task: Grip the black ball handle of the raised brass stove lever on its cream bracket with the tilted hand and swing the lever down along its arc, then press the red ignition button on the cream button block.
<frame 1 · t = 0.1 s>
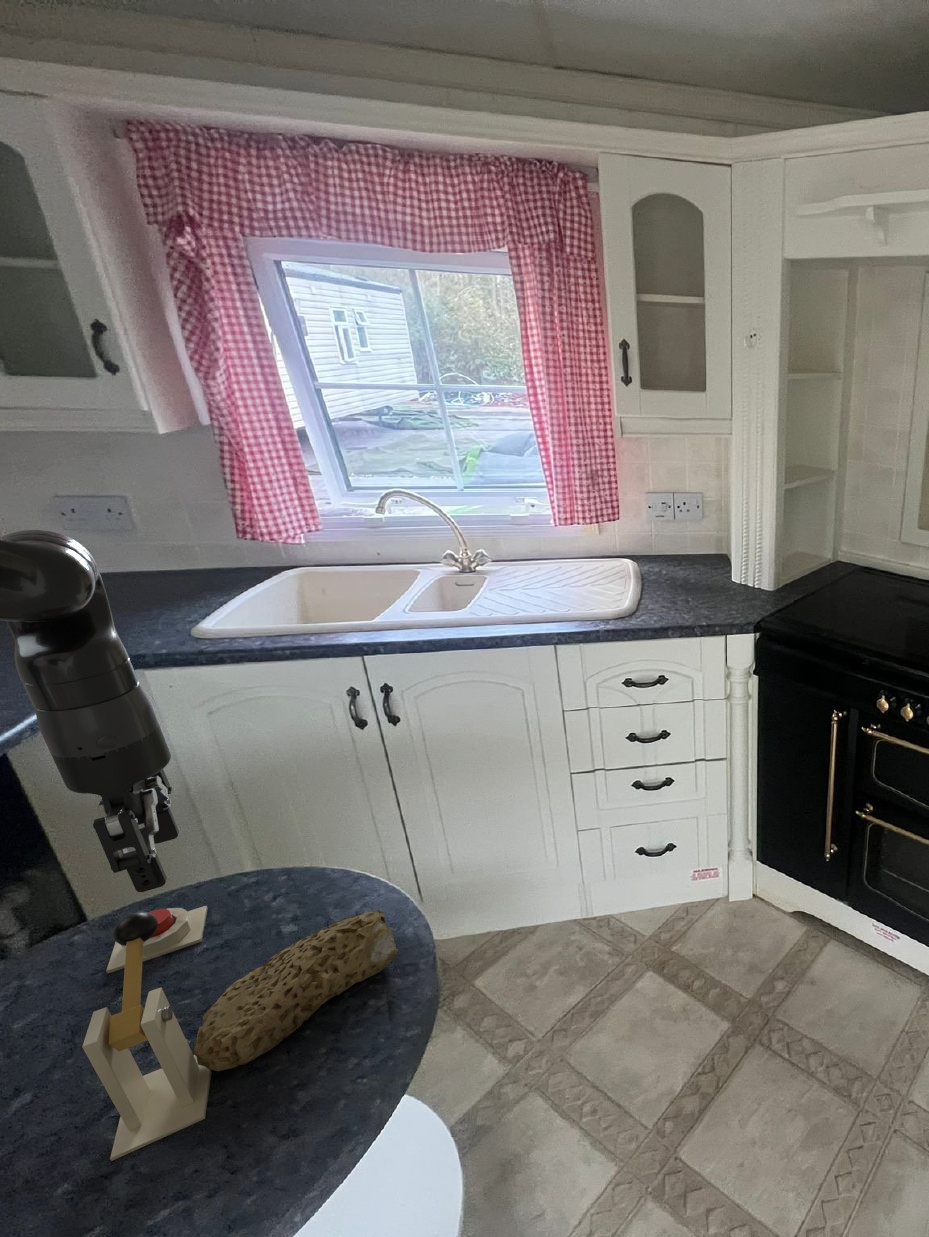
hand: (160, 862, 71), 24 cm above the countertop, tool pointing down, fingers open, 8 cm apart
lever: (133, 974, 69), point 14 cm above the countertop, hinge at 22.0°
button block: (162, 943, 89), on the countertop
button: (153, 924, 88), point 3 cm above the countertop, slide at 0.1 cm
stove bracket: (169, 1105, 70), on the countertop
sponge: (309, 1003, 82), on the countertop
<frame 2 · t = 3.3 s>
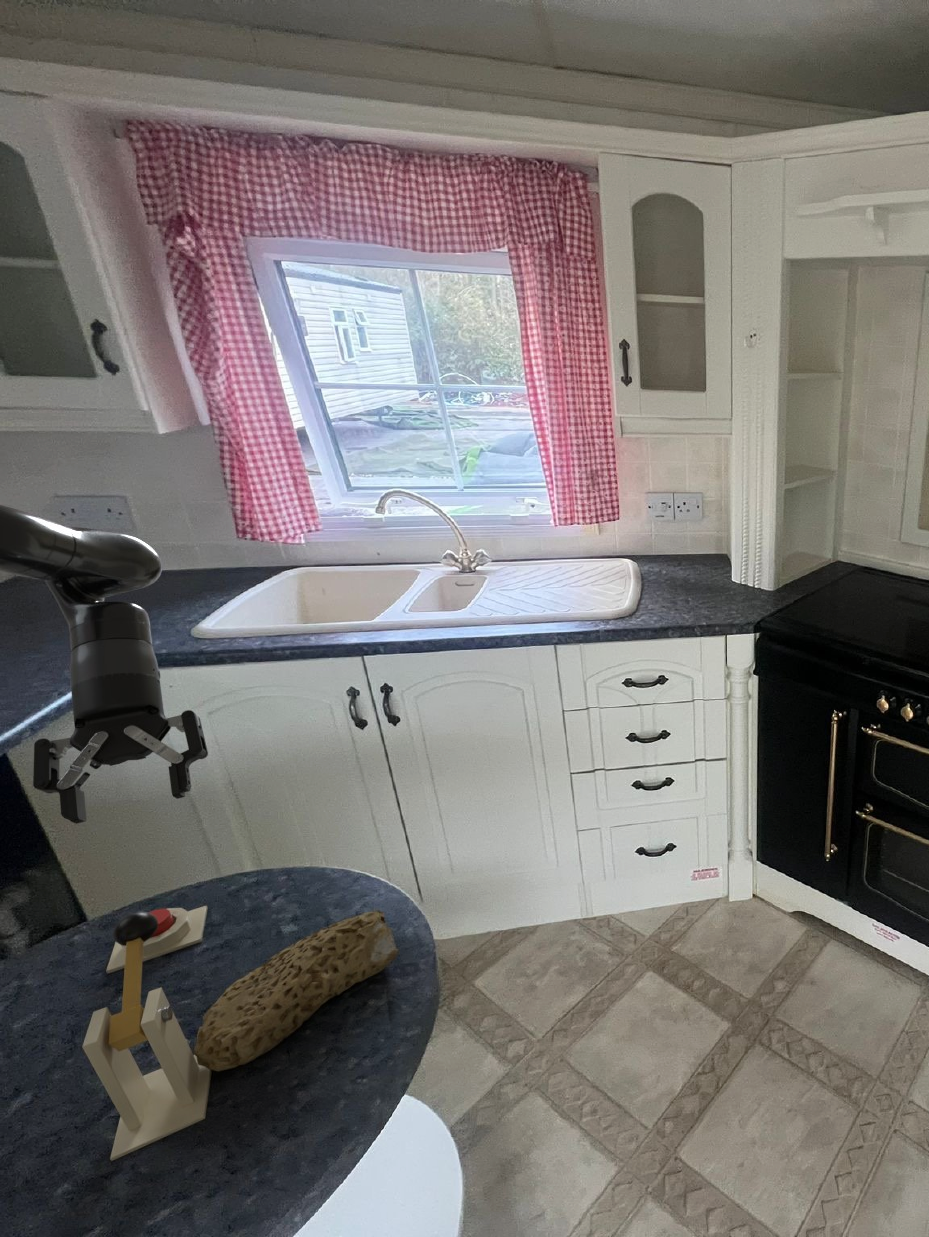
hand: (130, 808, 77), 25 cm above the countertop, tool tilted 45°, fingers open, 8 cm apart
nothing on the countertop moved.
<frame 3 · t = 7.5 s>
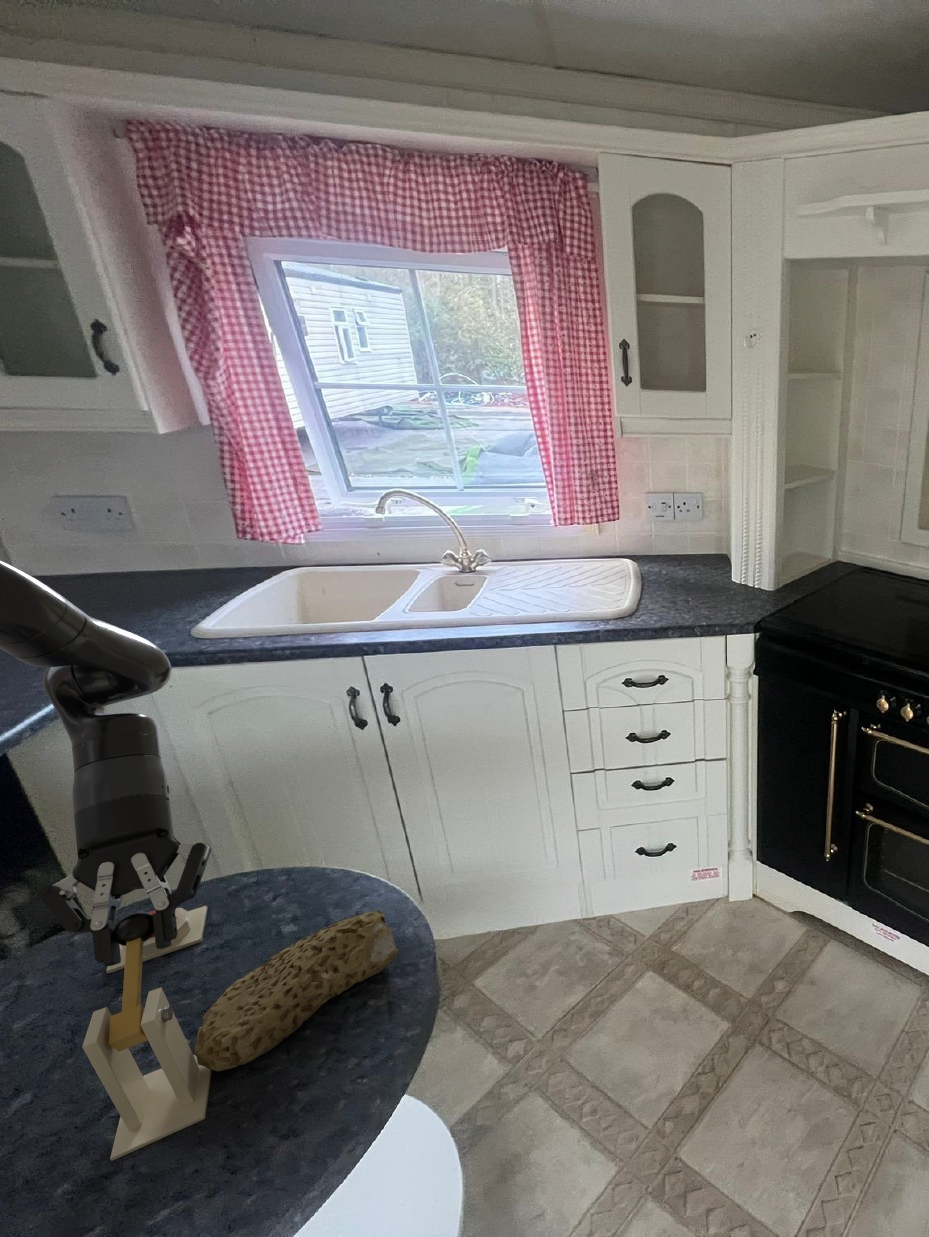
hand: (139, 954, 71), 14 cm above the countertop, tool tilted 45°, fingers closed on lever, 3 cm apart
lever: (133, 974, 69), point 14 cm above the countertop, hinge at 22.0°, touching gripper
everything else where it was.
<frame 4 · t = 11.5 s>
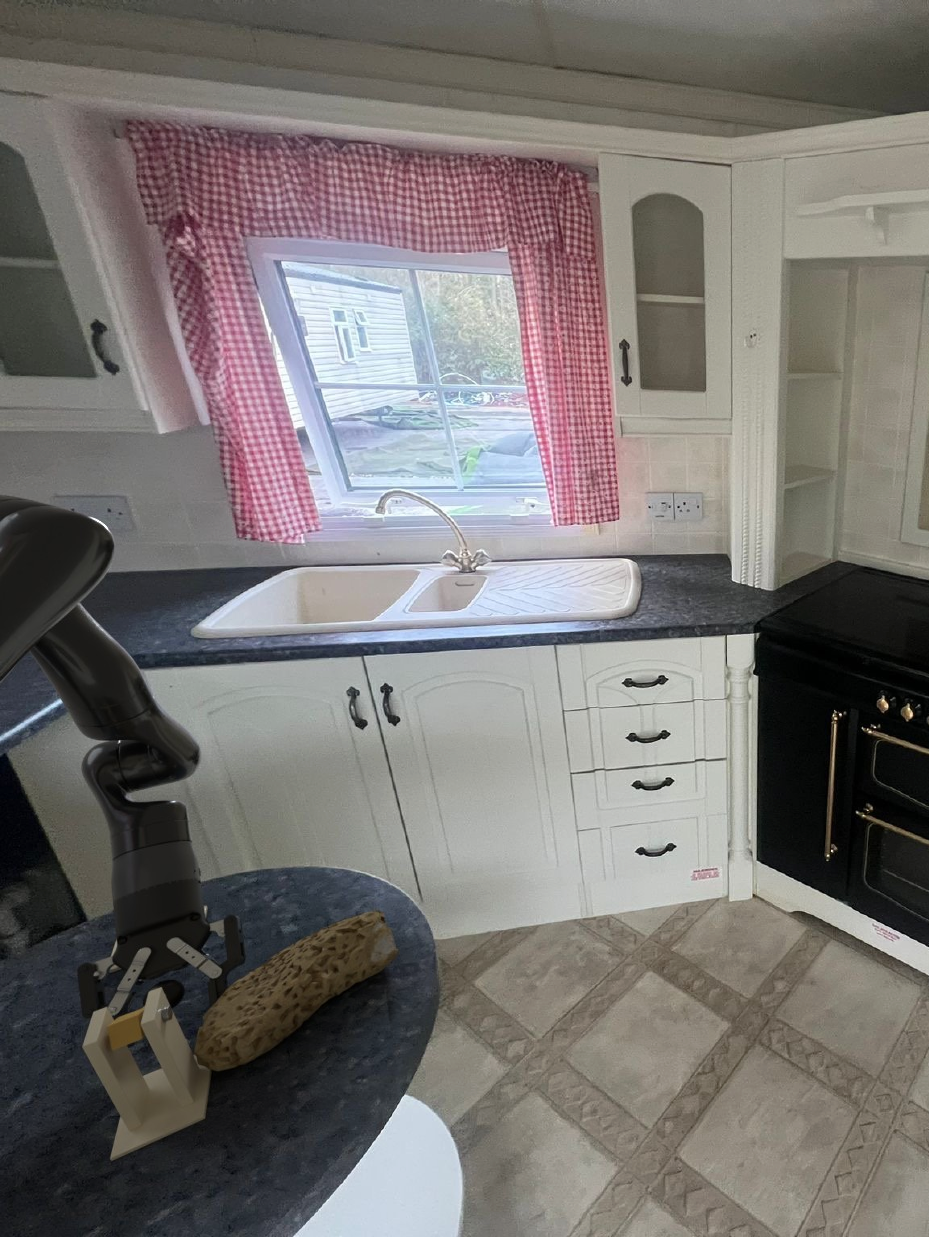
hand: (173, 1029, 76), 2 cm above the countertop, tool tilted 45°, fingers open, 7 cm apart
lever: (148, 1010, 71), point 9 cm above the countertop, hinge at -30.4°
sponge: (309, 1003, 82), on the countertop, touching gripper
everything else where it was.
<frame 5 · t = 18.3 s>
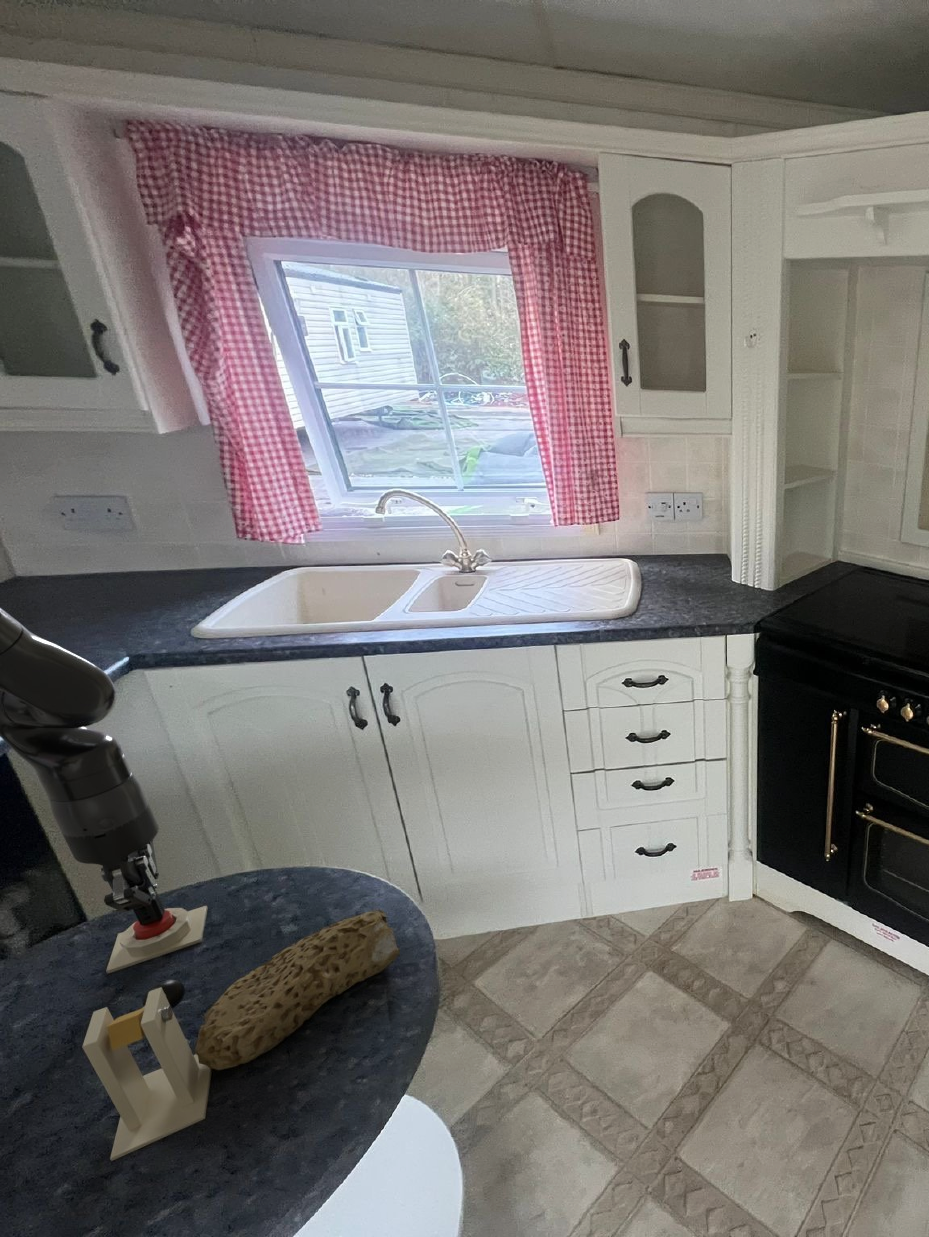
hand: (153, 919, 88), 4 cm above the countertop, tool pointing down, fingers closed
button: (154, 925, 88), point 3 cm above the countertop, slide at -0.1 cm, touching gripper
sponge: (310, 1003, 82), on the countertop
everything else where it was.
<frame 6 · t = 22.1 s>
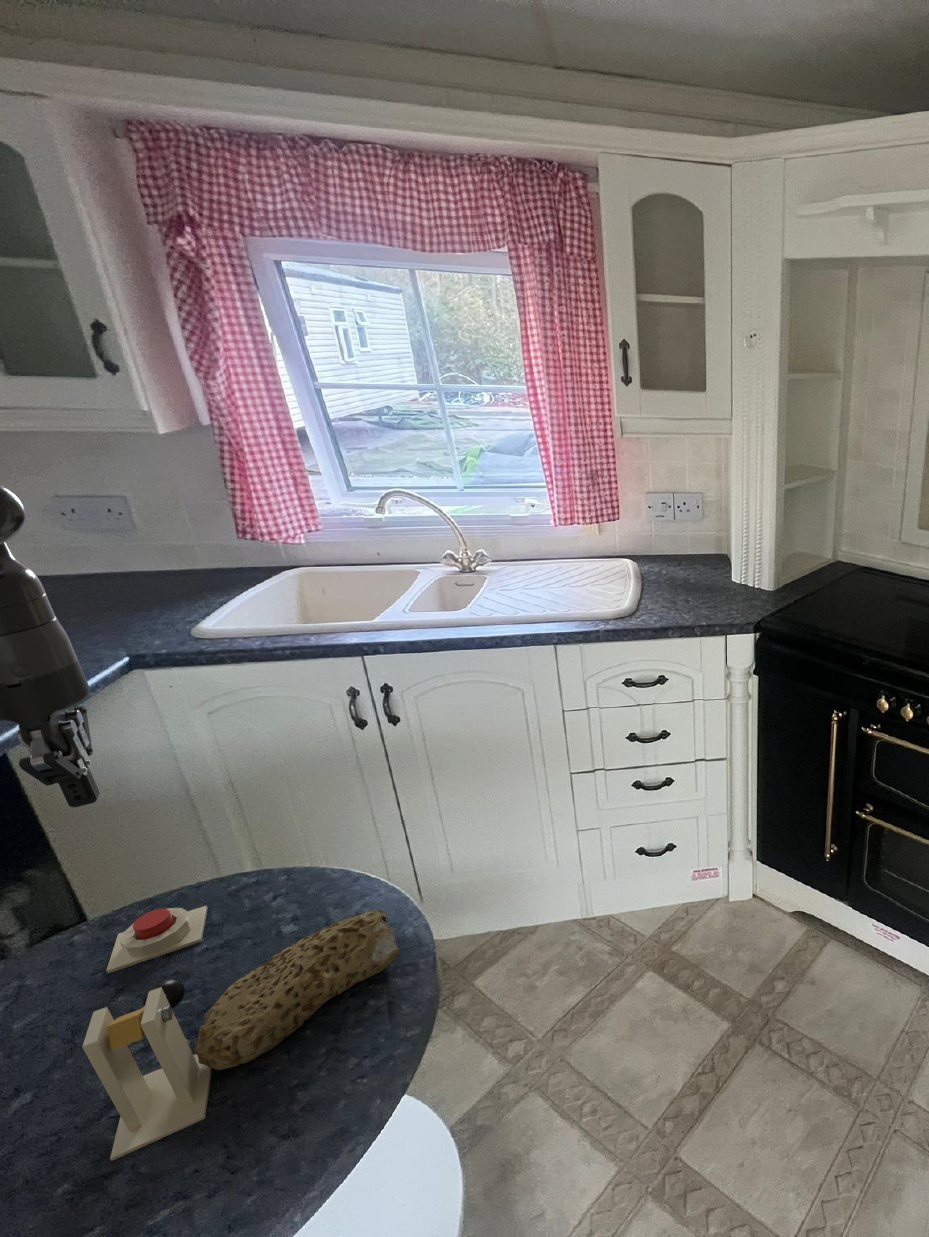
hand: (85, 801, 75), 27 cm above the countertop, tool pointing down, fingers closed
button: (153, 924, 88), point 3 cm above the countertop, slide at 0.1 cm
everything else where it was.
at the end: lever at -30° (first picture: +22°); button pushed in 1.0 cm at the most during the clip, back to where it started at the end; button slide at 0.1 cm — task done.
